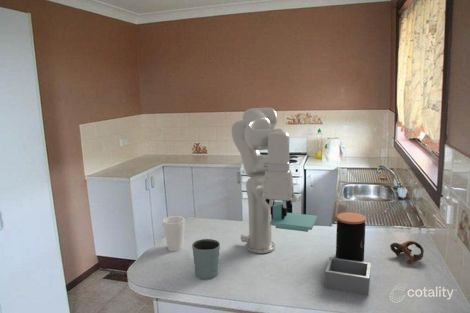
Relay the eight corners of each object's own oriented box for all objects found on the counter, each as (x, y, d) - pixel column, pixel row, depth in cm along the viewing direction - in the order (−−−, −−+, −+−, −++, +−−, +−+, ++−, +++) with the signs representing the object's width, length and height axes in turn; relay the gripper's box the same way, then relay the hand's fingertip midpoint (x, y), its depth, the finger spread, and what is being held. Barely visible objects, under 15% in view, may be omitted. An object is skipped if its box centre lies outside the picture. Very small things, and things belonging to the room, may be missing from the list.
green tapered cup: (188, 273, 143) (187, 243, 141) (211, 264, 149) (209, 236, 147) (203, 283, 135) (201, 252, 133) (226, 274, 141) (225, 244, 139)
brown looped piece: (417, 254, 154) (425, 242, 149) (417, 273, 147) (426, 261, 142) (387, 244, 156) (394, 232, 151) (386, 263, 150) (393, 251, 144)
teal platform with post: (269, 229, 131) (269, 208, 130) (278, 218, 142) (278, 198, 140) (311, 234, 126) (311, 212, 125) (317, 222, 137) (317, 202, 135)
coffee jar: (365, 267, 144) (367, 222, 140) (336, 265, 146) (337, 221, 142) (362, 254, 154) (363, 212, 150) (335, 253, 156) (336, 211, 152)
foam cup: (160, 250, 162) (158, 222, 160) (171, 242, 171) (169, 215, 168) (179, 254, 159) (177, 225, 156) (190, 245, 167) (188, 217, 165)
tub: (324, 290, 129) (325, 271, 127) (329, 275, 139) (329, 257, 137) (368, 297, 124) (369, 278, 122) (369, 281, 134) (370, 263, 132)
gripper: (252, 168, 131) (253, 218, 135) (299, 170, 126) (299, 223, 129) (259, 163, 138) (260, 211, 142) (303, 166, 132) (303, 216, 136)
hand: (278, 216), depth 135 cm, fingers closed on teal platform with post, 3 cm apart
